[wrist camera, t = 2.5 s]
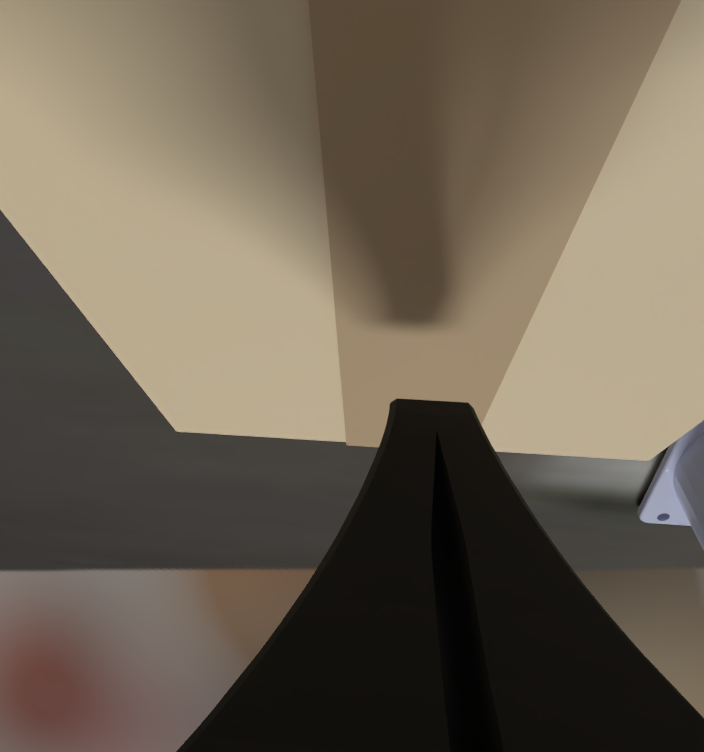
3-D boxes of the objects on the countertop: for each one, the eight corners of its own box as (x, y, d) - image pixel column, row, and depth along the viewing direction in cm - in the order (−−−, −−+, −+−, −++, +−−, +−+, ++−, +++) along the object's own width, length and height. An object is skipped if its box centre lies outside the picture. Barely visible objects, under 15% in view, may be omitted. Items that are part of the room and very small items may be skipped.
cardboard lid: (1795, -501, 3) (1945, -479, 3) (645, 441, 16) (649, 464, 16) (-436, -443, 4) (-513, -422, 4) (180, 413, 17) (175, 434, 17)
